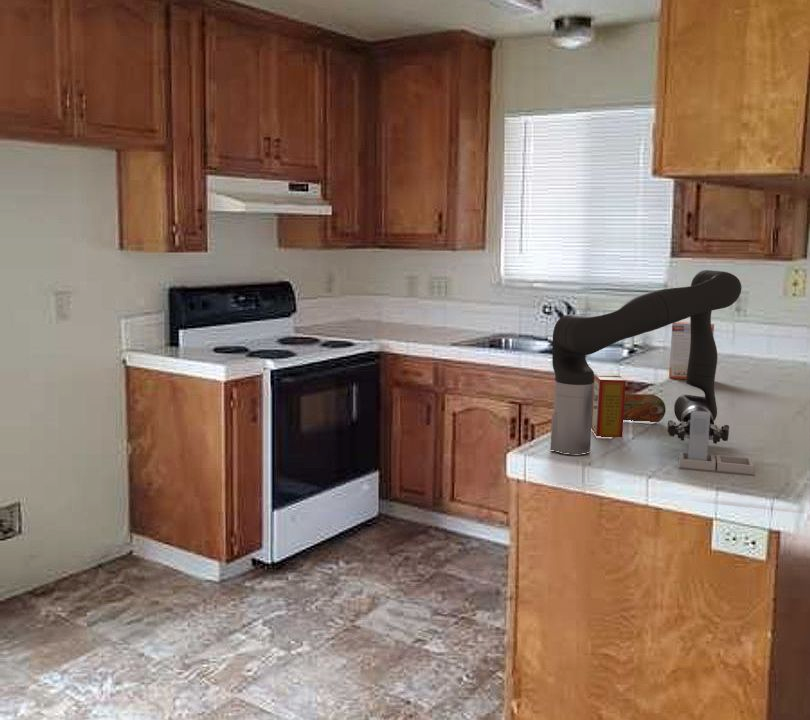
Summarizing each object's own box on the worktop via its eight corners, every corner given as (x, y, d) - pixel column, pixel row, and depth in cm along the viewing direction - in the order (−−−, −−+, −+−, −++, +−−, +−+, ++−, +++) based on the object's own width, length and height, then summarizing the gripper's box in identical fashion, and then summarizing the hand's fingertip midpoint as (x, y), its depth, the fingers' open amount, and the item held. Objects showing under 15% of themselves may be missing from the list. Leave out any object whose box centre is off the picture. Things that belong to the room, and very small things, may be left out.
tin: (609, 422, 246) (611, 393, 245) (608, 420, 249) (610, 391, 248) (664, 425, 244) (666, 395, 242) (663, 423, 247) (665, 393, 245)
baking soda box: (622, 439, 225) (625, 379, 223) (596, 438, 226) (600, 378, 223) (615, 431, 235) (619, 372, 232) (591, 430, 235) (594, 372, 233)
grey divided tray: (678, 474, 194) (679, 461, 194) (677, 461, 205) (678, 449, 204) (754, 481, 190) (755, 468, 189) (750, 468, 200) (751, 456, 200)
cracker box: (710, 380, 321) (715, 323, 318) (707, 382, 316) (711, 325, 313) (672, 376, 328) (676, 320, 325) (668, 378, 323) (672, 322, 320)
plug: (687, 466, 196) (691, 414, 194) (687, 461, 201) (691, 410, 199) (706, 468, 195) (710, 416, 193) (705, 463, 200) (709, 411, 198)
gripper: (667, 404, 212) (666, 418, 196) (730, 409, 208) (734, 424, 192) (665, 434, 213) (664, 450, 198) (727, 440, 209) (731, 457, 193)
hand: (699, 437), depth 195 cm, fingers open, 6 cm apart
